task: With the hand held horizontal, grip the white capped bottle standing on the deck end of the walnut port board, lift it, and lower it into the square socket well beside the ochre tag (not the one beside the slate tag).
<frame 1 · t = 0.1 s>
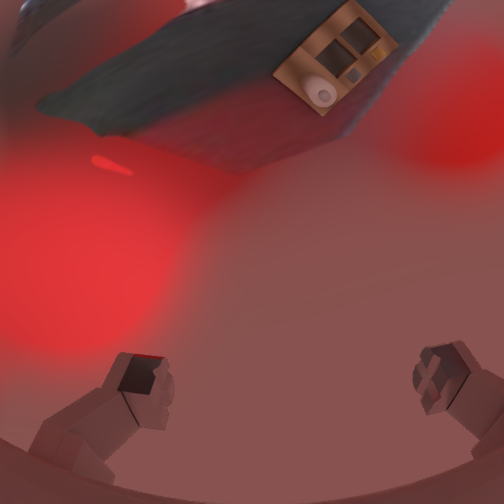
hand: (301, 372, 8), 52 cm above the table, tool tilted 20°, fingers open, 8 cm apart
port board: (334, 55, 43), on the table
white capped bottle: (311, 82, 45), point 2 cm above the table, touching port board
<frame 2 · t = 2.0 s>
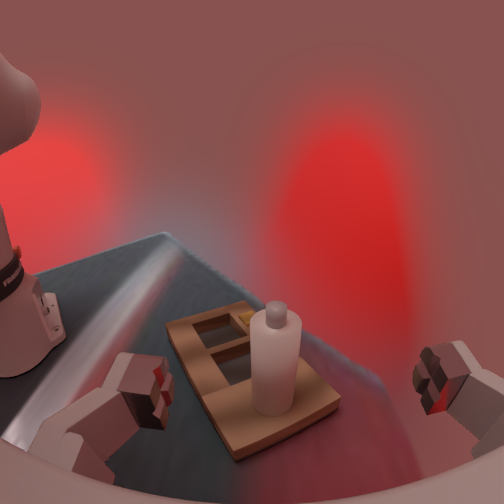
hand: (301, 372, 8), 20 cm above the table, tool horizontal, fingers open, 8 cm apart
port board: (240, 373, 33), on the table
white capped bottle: (272, 400, 27), point 3 cm above the table, touching port board
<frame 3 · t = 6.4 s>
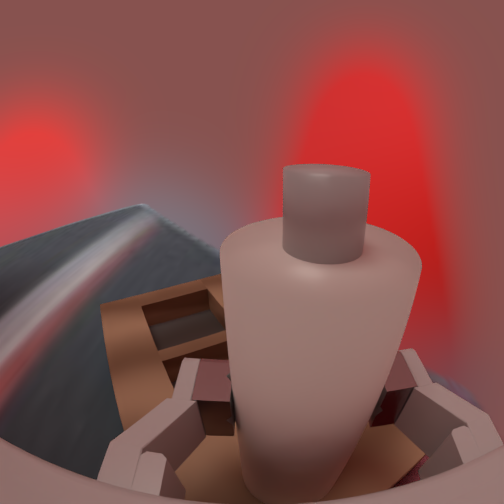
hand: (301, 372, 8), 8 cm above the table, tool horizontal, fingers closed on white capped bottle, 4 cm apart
port board: (223, 398, 17), on the table
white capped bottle: (290, 469, 10), point 3 cm above the table, touching gripper, port board
when the fingers open (8 cm above the table, at t = 11.6 s): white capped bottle drops 2 cm, resting on port board.
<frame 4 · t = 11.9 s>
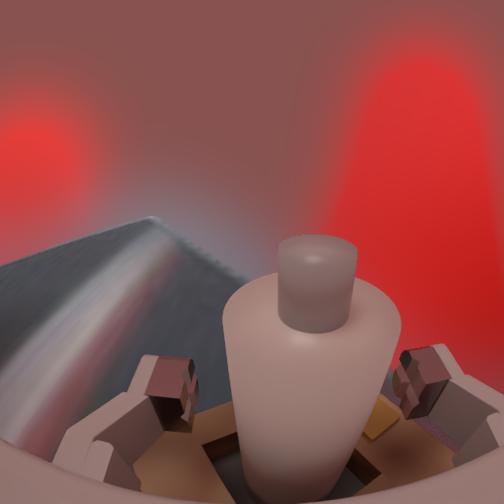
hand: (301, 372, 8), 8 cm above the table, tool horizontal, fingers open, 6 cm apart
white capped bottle: (289, 480, 11), point 1 cm above the table, touching port board
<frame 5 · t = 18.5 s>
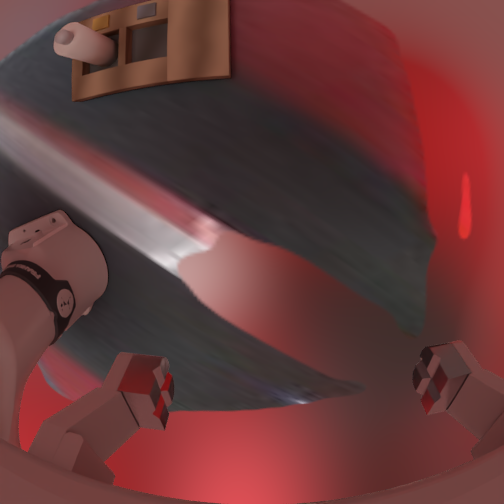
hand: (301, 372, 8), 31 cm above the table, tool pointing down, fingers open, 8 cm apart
port board: (148, 45, 29), on the table
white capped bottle: (107, 53, 29), point 1 cm above the table, touching port board
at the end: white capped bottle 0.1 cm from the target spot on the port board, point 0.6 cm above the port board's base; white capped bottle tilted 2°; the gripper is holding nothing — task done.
